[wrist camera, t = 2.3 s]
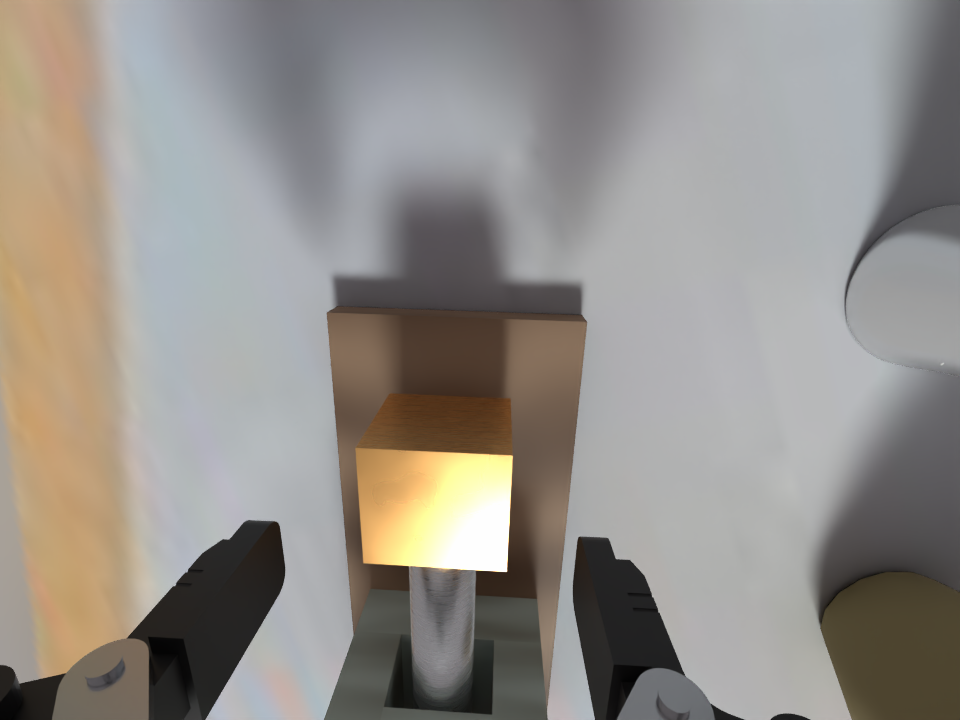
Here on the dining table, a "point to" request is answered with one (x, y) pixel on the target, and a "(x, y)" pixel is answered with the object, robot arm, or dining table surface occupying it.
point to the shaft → (438, 523)
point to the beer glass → (911, 293)
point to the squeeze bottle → (896, 647)
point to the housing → (533, 502)
